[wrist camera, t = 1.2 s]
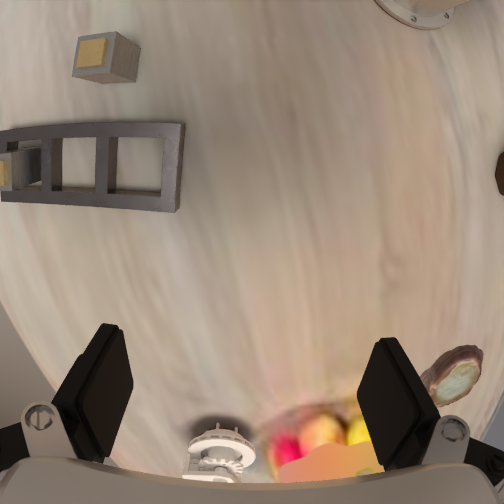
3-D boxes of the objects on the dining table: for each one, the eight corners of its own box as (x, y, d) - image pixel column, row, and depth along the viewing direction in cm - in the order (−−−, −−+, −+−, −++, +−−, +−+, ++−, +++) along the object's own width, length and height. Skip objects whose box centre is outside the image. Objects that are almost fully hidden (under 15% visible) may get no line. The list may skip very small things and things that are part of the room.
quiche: (435, 419, 51) (442, 432, 47) (378, 400, 47) (384, 416, 43) (504, 347, 45) (514, 359, 41) (462, 310, 40) (475, 323, 37)
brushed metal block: (107, 50, 26) (75, 35, 19) (140, 48, 27) (114, 29, 20) (103, 83, 28) (68, 75, 21) (135, 82, 28) (106, 71, 21)
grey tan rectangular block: (23, 147, 30) (-16, 155, 23) (46, 146, 30) (7, 153, 23) (23, 178, 31) (-14, 191, 24) (46, 178, 32) (8, 192, 24)
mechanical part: (264, 422, 47) (268, 481, 36) (239, 454, 51) (238, 506, 40) (199, 406, 45) (190, 467, 34) (181, 441, 49) (173, 494, 38)
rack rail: (12, 196, 32) (1, 201, 30) (11, 129, 29) (-1, 131, 26) (179, 207, 33) (174, 213, 31) (185, 123, 30) (180, 123, 28)
